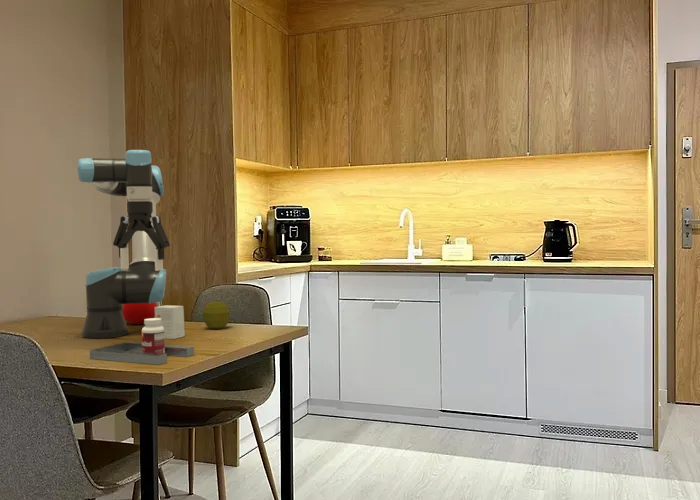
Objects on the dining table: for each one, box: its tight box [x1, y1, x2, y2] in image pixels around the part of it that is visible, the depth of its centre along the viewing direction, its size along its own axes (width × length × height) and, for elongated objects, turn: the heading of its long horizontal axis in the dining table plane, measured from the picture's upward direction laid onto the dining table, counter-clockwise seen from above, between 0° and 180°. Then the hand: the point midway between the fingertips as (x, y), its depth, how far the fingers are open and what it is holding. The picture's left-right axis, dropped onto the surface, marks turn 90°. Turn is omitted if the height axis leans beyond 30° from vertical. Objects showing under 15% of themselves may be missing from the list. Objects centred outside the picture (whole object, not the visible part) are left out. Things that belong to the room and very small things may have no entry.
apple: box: [202, 301, 231, 330], centre depth 249 cm, size 10×10×11 cm
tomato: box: [122, 302, 158, 325], centre depth 266 cm, size 12×13×11 cm
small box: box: [154, 304, 185, 340], centre depth 231 cm, size 8×6×10 cm
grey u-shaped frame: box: [89, 341, 195, 366], centre depth 196 cm, size 25×15×2 cm, turn 65°
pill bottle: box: [141, 317, 166, 354], centre depth 194 cm, size 6×6×11 cm
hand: (141, 269), depth 212 cm, fingers open, 13 cm apart
